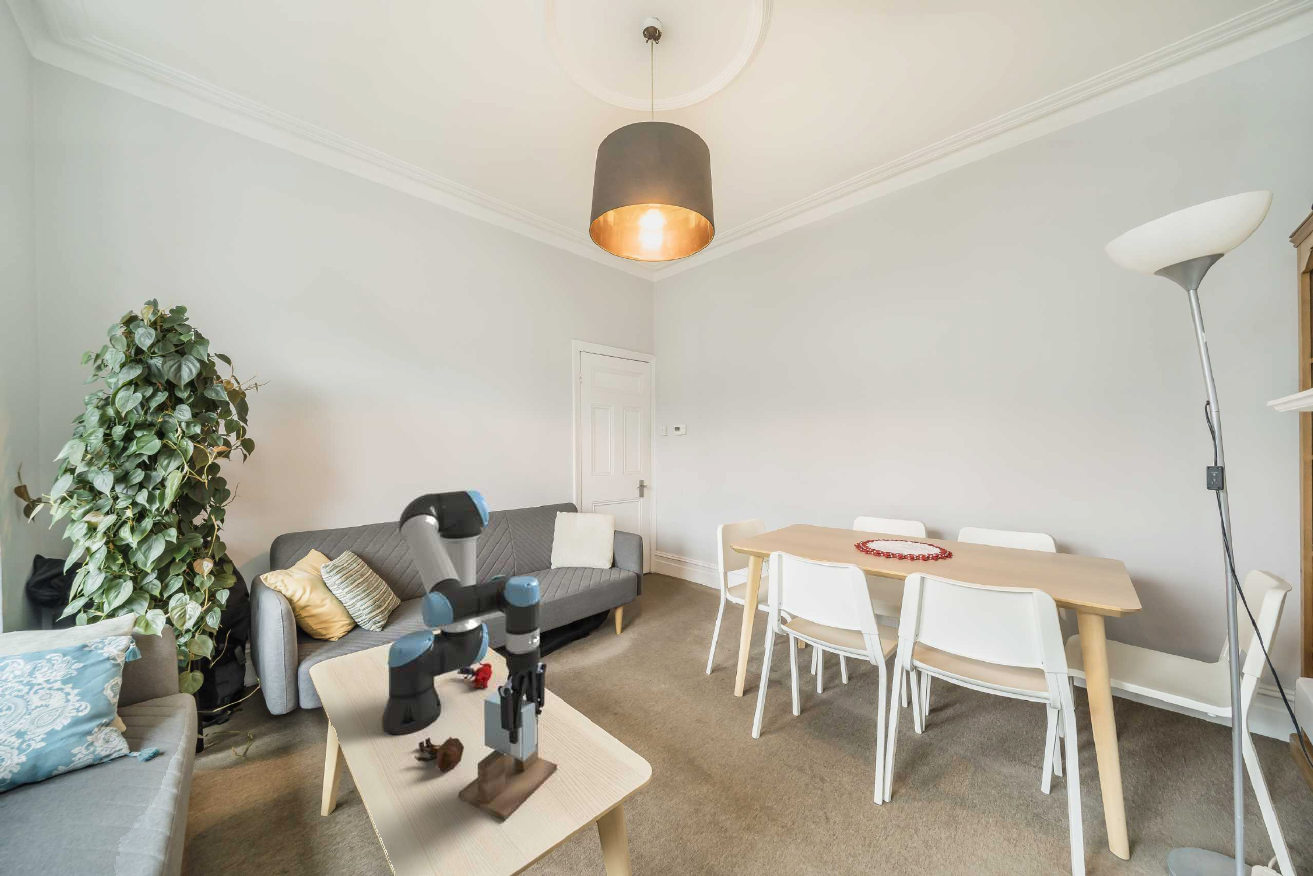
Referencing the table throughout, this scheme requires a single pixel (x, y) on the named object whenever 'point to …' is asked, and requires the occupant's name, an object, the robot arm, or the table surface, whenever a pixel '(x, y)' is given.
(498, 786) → the walnut stand
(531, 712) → the grey-blue slab
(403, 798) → the table surface
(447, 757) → the toy
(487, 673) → the figurine
